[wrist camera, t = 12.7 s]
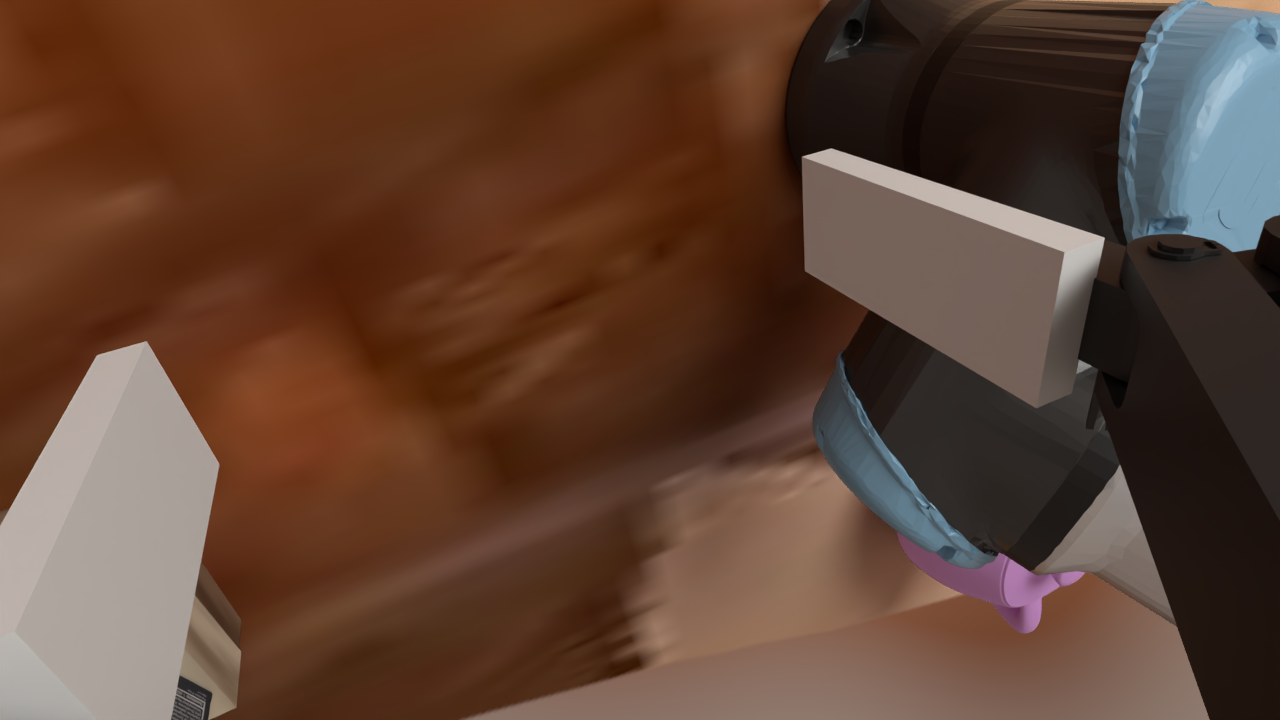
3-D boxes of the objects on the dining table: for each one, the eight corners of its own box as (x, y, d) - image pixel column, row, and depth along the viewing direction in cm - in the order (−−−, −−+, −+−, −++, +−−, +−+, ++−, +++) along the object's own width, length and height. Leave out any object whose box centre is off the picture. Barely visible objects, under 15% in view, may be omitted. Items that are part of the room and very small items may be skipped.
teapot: (1022, 500, 77) (1158, 599, 64) (868, 579, 72) (984, 702, 60) (1044, 348, 66) (1212, 432, 54) (867, 428, 61) (1007, 541, 49)
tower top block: (114, 496, 36) (95, 548, 32) (241, 651, 43) (236, 707, 39) (-116, 583, 33) (-161, 648, 30) (59, 732, 40) (38, 798, 37)
